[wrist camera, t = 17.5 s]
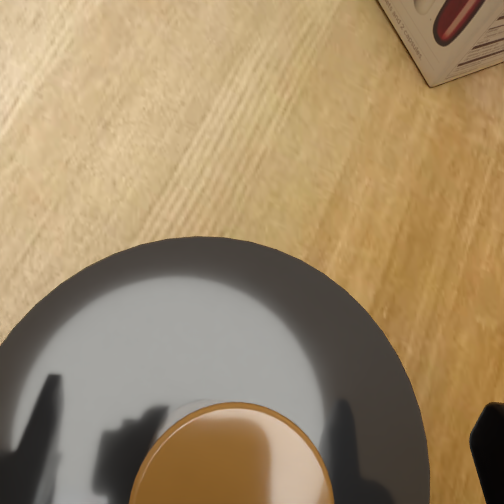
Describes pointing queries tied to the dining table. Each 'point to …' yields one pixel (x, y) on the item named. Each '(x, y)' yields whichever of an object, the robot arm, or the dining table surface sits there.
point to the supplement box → (449, 35)
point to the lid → (206, 387)
